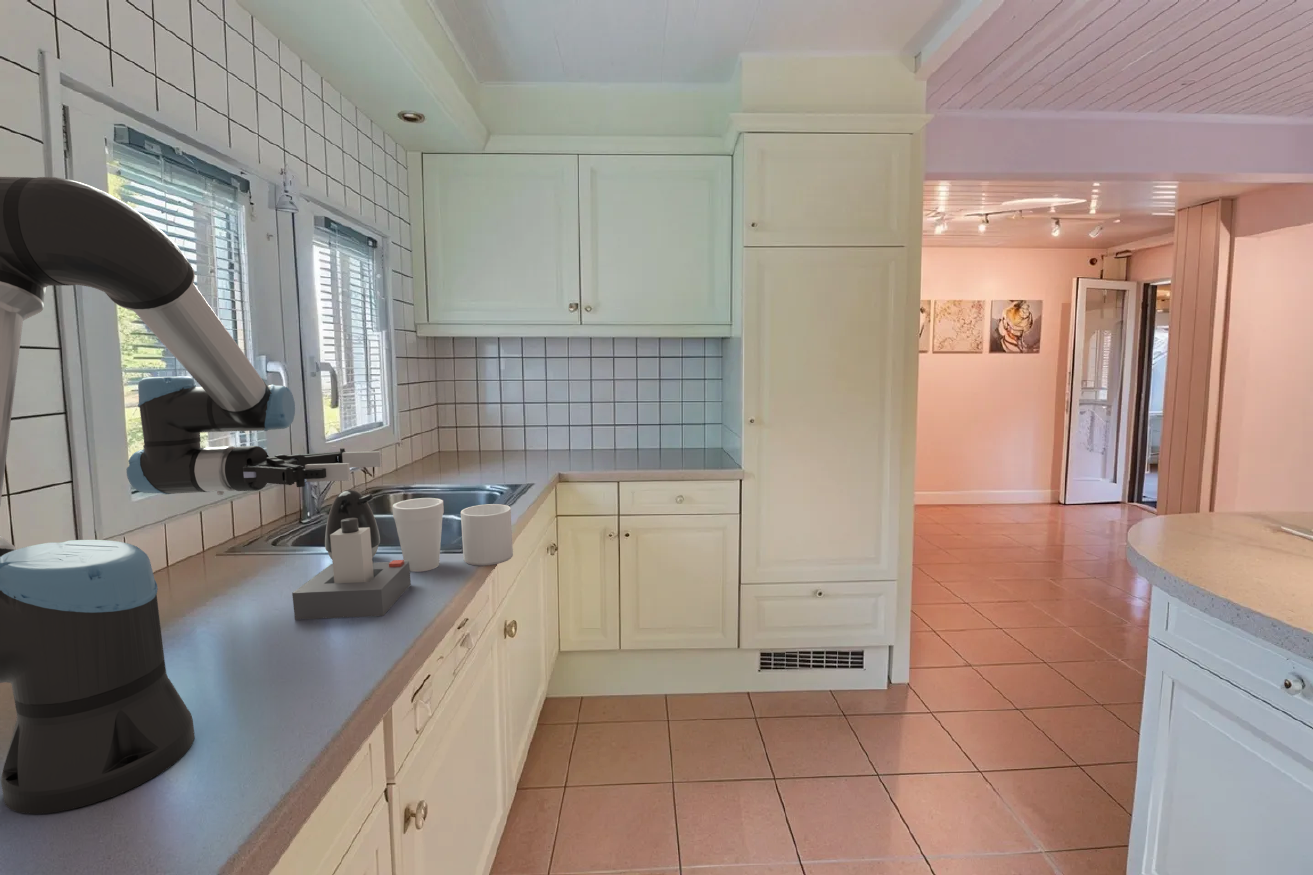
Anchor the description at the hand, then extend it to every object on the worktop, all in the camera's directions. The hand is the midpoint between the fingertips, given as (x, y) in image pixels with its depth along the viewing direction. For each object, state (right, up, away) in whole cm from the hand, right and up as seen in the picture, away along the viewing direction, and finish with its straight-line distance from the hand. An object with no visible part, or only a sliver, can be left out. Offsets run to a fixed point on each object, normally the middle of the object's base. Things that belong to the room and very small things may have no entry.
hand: (366, 464), depth 107 cm
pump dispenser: (-13, -21, +24) cm, 34 cm away
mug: (+14, -20, +26) cm, 36 cm away
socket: (-3, -24, +2) cm, 24 cm away
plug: (-3, -22, +2) cm, 23 cm away
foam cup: (+2, -21, +20) cm, 29 cm away
